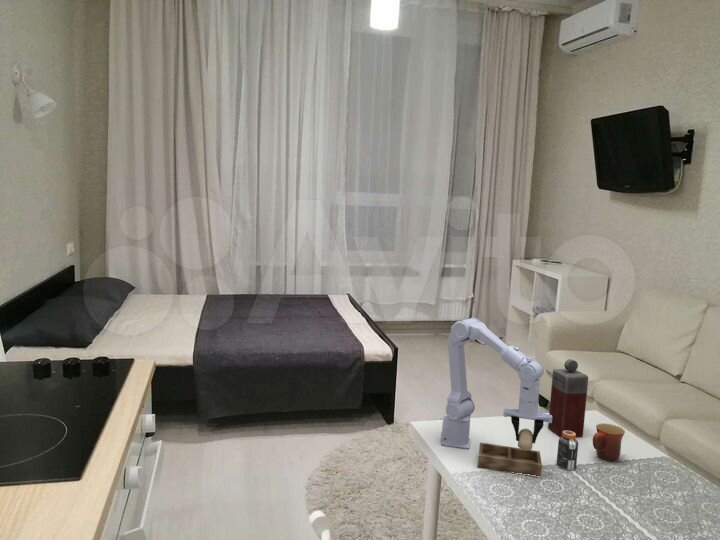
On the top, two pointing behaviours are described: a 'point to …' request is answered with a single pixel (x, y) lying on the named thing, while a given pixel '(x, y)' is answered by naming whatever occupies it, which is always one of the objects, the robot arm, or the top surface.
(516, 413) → the robot arm
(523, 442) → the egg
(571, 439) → the pill bottle
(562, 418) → the red grey square bottle
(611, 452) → the mug
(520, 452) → the walnut holder
